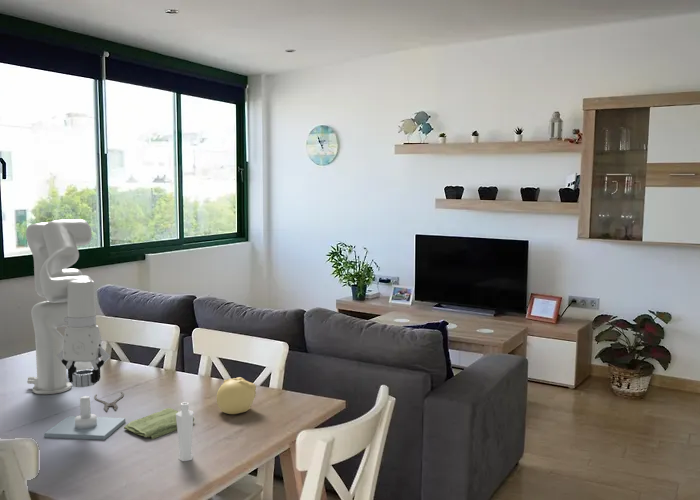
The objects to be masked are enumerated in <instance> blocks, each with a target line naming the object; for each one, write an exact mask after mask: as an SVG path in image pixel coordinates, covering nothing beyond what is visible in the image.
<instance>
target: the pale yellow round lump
mask: <svg viewBox="0 0 700 500" xmlns="http://www.w3.org/2000/svg"><path fill="white" fill-rule="evenodd" d="M256 390H257V385H256V384H255V383H254V382H250V381H248V380H246V379H245V378H243V377H241V376H238V377H236V378H235V377H233V378H227V379H224V380H223V383H222V384H221V385H220V386H219V388H218V390H217V393H216V404H217V407H218V408H219V410H220V411H221V412H222V413H224V414H227V415H237V414H242V413H245V412H247V411H249V410H250V408H251V407H252V406H253V403H254V399H255V398H256V395H257V392H256Z"/></svg>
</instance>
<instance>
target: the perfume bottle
mask: <svg viewBox="0 0 700 500" xmlns="http://www.w3.org/2000/svg"><path fill="white" fill-rule="evenodd" d="M189 404H190V402H186V401H183V402H181V403H180V410H179V411H178V413H176V421H177V430H176V431H177V440H178V442H177V443H178V450H179V454H178V460H180V462H186V461H192V460H193V458H194V455H193V450H192V449H193V448H192V447H193V430H194V429H193V428H194V427H193V426H194V422H193V417H194V411H193V410H191V409H189Z"/></svg>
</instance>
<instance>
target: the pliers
mask: <svg viewBox="0 0 700 500" xmlns="http://www.w3.org/2000/svg"><path fill="white" fill-rule="evenodd" d="M120 394H121V396H120V397H118V398H116V399H115V400H113V401H112V402H107V401H104V400H102V399H99V398H98V397H97V396H98V394H97V393H95V394H94V396H93V398H94V400H95V401H97V402H99V403H102V404H103V405H104V406H103V411H105V412H106V413H108V410H109V408H112V409H113V410H114V412H117V410H118V408H119V406H118V405H117V403H118V402H119V401H120V400H121V399H123V398H124V395H125V393H124V392H123V391H120Z"/></svg>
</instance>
